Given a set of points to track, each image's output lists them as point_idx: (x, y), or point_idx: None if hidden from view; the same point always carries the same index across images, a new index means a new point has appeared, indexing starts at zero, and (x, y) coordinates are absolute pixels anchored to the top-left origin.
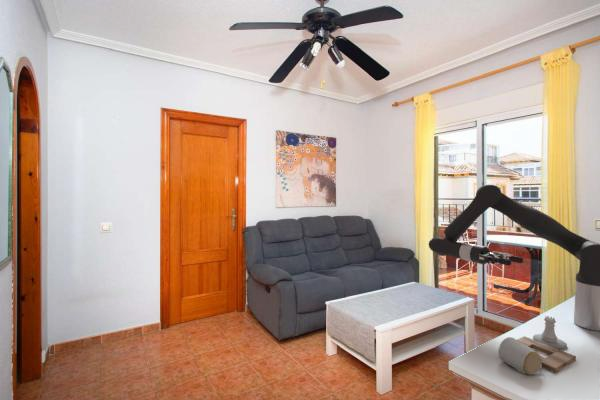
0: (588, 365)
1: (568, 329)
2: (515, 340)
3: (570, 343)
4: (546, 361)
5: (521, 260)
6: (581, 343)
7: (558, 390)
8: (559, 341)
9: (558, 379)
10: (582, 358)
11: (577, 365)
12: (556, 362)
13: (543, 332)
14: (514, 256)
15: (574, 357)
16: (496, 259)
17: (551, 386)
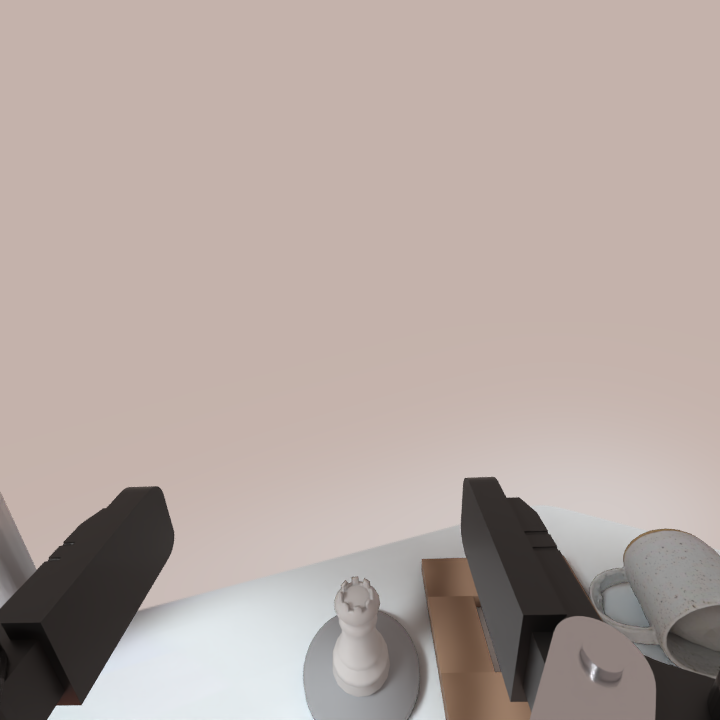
0: (416, 546)
1: (107, 698)
2: (712, 578)
3: (290, 627)
4: None
5: (165, 516)
6: (256, 608)
7: (623, 533)
8: (334, 639)
9: (579, 550)
10: (386, 566)
11: (447, 557)
12: None
13: (375, 663)
14: (80, 571)
15: (432, 560)
16: (664, 672)
17: None
